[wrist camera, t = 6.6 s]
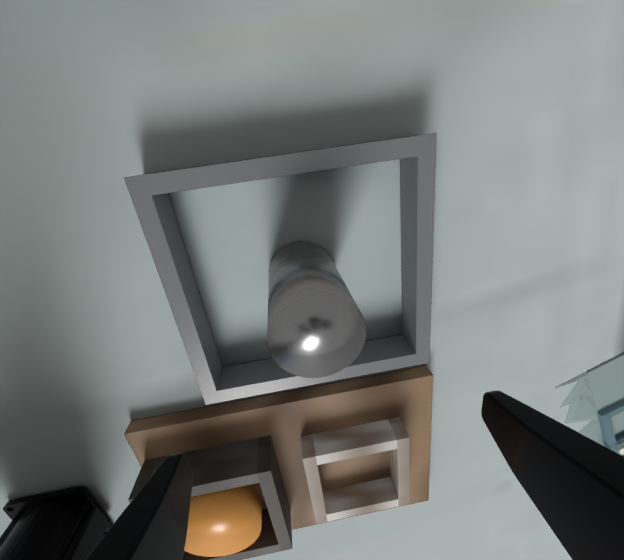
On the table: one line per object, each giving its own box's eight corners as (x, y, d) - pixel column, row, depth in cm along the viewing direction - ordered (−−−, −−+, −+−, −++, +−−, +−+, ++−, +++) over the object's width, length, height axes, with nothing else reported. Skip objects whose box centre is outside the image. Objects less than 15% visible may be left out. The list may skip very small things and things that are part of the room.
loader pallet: (189, 537, 30) (177, 594, 26) (130, 421, 24) (103, 472, 20) (423, 488, 32) (443, 534, 28) (426, 365, 25) (453, 403, 21)
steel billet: (275, 306, 22) (276, 385, 14) (263, 246, 20) (258, 302, 12) (336, 295, 22) (368, 368, 14) (329, 236, 20) (363, 284, 13)
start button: (193, 528, 27) (186, 564, 24) (170, 479, 24) (159, 514, 22) (269, 512, 27) (268, 546, 25) (253, 463, 24) (251, 495, 22)
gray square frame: (212, 379, 23) (205, 404, 21) (143, 174, 17) (124, 177, 15) (414, 342, 24) (429, 362, 22) (415, 135, 18) (436, 133, 16)
